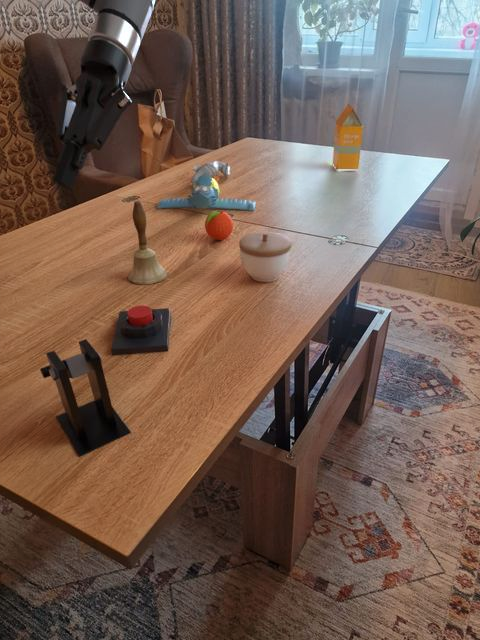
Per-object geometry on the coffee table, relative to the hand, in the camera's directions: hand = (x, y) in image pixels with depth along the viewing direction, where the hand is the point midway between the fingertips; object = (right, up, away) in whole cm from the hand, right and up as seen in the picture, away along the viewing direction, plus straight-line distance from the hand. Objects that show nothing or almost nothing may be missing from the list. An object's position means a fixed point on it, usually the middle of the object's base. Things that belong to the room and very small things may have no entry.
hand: (62, 184), depth 76 cm
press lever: (+7, -29, -14) cm, 33 cm away
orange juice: (+61, +38, +95) cm, 120 cm away
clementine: (+21, +1, +43) cm, 48 cm away
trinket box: (+32, -10, +27) cm, 43 cm away
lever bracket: (+9, -37, -11) cm, 40 cm away
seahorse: (+15, +30, +83) cm, 89 cm away
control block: (+11, -24, +7) cm, 28 cm away
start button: (+11, -21, +5) cm, 24 cm away
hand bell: (+7, -11, +27) cm, 30 cm away
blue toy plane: (+16, +15, +62) cm, 66 cm away
